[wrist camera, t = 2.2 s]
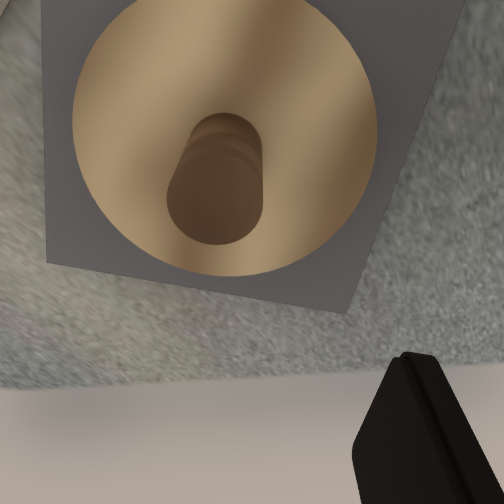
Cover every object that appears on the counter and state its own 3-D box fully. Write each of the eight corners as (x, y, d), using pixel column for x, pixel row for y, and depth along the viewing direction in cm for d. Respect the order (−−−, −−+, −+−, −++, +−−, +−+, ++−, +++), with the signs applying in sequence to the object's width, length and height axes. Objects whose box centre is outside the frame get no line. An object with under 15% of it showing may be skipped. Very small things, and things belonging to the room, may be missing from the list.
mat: (465, -18, 18) (471, -18, 18) (344, 307, 26) (345, 314, 26) (44, -119, 17) (38, -123, 16) (50, 256, 25) (46, 262, 24)
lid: (418, 16, 18) (485, 33, 13) (327, 287, 25) (346, 373, 19) (80, -61, 17) (-1, -78, 12) (76, 243, 24) (22, 323, 18)
